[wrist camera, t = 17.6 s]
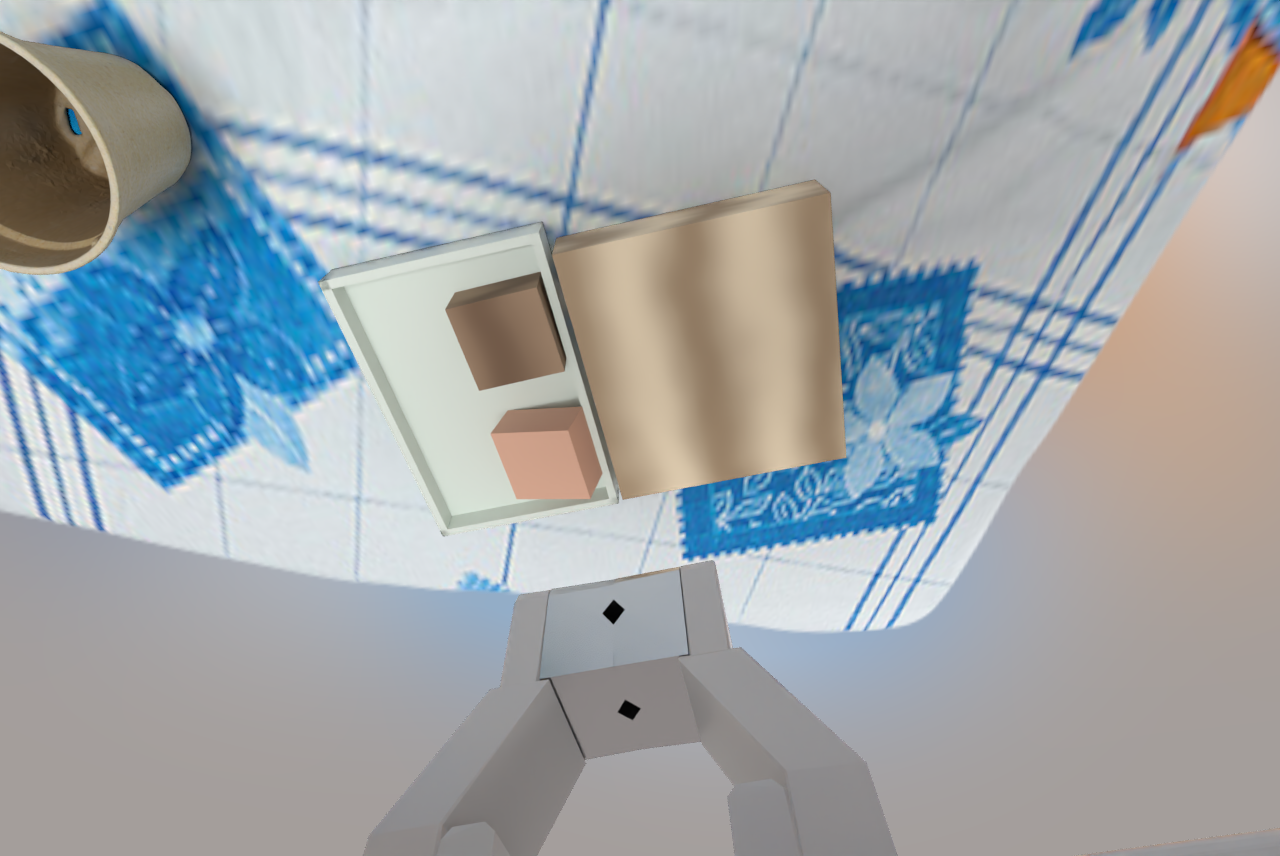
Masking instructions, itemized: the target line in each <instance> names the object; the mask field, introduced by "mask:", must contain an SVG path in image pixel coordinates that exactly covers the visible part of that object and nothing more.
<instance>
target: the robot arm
mask: <svg viewBox="0 0 1280 856" xmlns="http://www.w3.org/2000/svg"><path fill="white" fill-rule="evenodd" d="M694 742H702V745H703V746H704V748H705V749H706V750H707V751H708V753H709V754H710V755H711V757H712V758H713V759H714V761H715V762H716V763H717V764H718V766H719V767H720V768H721V770H722V771H723V772H724V774H725V775H726V776H727V777H728V779H729V780H730V781H731V783H732V784H733V785H734V788H733V789H732V791H731V792H730V794H729V795H728V806H729V813H730V822H731V830H732V838H733V846H734V853H735V856H898V855H897V852H896V849H895V846H894V843H893V840H892V837H891V834H890V831H889V828H888V825H887V822H886V820H885V816H884V814H883V810H882V807H881V804H880V801H879V799H878V795H877V792H876V789H875V786H874V783H873V781H872V778H871V775H870V772H869V769H868V766H867V763H866V762H865V761H864V760H863V759H862V758H861V757H860V756H859V755H858V754H857V753H856V752H854V750H852V749H851V748H850V747H849V746H848V745H847V744H846V743H845V742H844V741H842V739H840V738H839V737H838V736H837V735H836V734H835V733H834V732H833V731H832V730H831V729H829V728H828V727H827V726H826V725H825V724H824V723H823V722H822V721H821V720H819V718H817V716H815V715H814V714H813V713H812V712H811V711H810V710H809V709H808V708H807V707H805V706H804V705H803V704H802V703H801V702H800V701H799V700H798V699H797V698H796V697H795V696H794V695H793V694H791V693H790V692H789V691H788V690H787V689H786V688H785V687H784V686H783V685H782V684H781V683H779V682H778V681H777V680H776V679H775V678H774V677H773V676H772V675H771V674H770V673H769V672H767V671H766V670H765V669H764V668H763V667H762V666H761V665H760V664H759V663H758V662H757V661H755V660H754V659H753V658H752V657H751V656H750V655H749V654H748V653H747V652H746V651H745V650H743V649H742V648H741V647H739V648H733V647H732V642H731V637H730V632H729V628H728V623H727V618H726V613H725V608H724V603H723V599H722V594H721V589H720V584H719V579H718V574H717V570H716V565H715V562H714V561H713V560H711V561H706V562H701V563H696V564H690V565H685V566H681V568H680V567H676V568H671V569H665V570H660V571H655V572H649V573H644V574H639V575H634V576H628V577H623V578H618V579H614V580H608V581H601V582H595V583H588V584H582V585H575V586H569V587H562V588H556V589H552V590H548V591H541V592H535V593H528V594H521V595H519V596H518V598H517V600H516V602H515V603H514V608H513V614H512V621H511V626H510V631H509V637H508V643H507V648H506V654H505V660H504V666H503V671H502V677H501V683H500V687H499V688H494V689H490V690H489V691H488V692H487V693H486V695H485V696H484V697H483V698H482V699H481V701H480V702H479V703H478V704H477V705H476V707H475V708H474V709H473V710H472V711H471V713H470V714H469V715H468V716H467V718H466V719H465V720H464V721H463V723H462V724H461V725H460V726H459V727H458V729H457V730H456V731H455V732H454V733H453V734H452V736H451V737H450V738H449V739H448V741H447V742H446V743H445V744H444V746H443V747H442V748H441V749H440V750H439V751H438V753H437V754H436V755H435V756H434V757H433V759H432V760H431V761H430V762H429V764H428V765H427V766H426V767H425V768H424V770H423V771H422V772H421V773H420V774H419V776H418V777H417V778H416V779H415V780H414V782H413V783H412V784H411V785H410V787H409V788H408V789H407V790H406V791H405V793H404V794H403V795H402V796H401V797H400V799H399V800H398V801H397V802H396V803H395V805H394V806H393V807H392V808H391V810H390V811H389V812H388V814H386V816H385V817H384V818H383V819H382V820H381V822H380V823H379V824H378V825H377V826H376V828H375V829H374V830H373V831H372V833H371V834H370V835H369V837H368V841H367V844H366V847H365V850H364V854H363V856H537V855H538V853H539V851H540V849H541V847H542V845H543V843H544V842H545V840H546V838H547V836H548V834H549V832H550V830H551V828H552V827H553V824H554V823H555V821H556V819H557V817H558V815H559V813H560V811H561V810H562V808H563V806H564V804H565V802H566V800H567V798H568V796H569V795H570V793H571V791H572V789H573V787H574V785H575V783H576V781H577V779H578V778H579V776H580V774H581V772H582V770H583V768H584V766H585V764H586V763H585V760H586V759H592V758H597V757H603V756H608V755H614V754H619V753H624V752H630V751H635V750H640V749H647V748H654V747H663V746H671V745H679V744H686V743H694ZM1076 856H1280V828H1275V829H1268V830H1260V831H1253V832H1246V833H1238V834H1231V835H1224V836H1216V837H1209V838H1201V839H1194V840H1186V841H1179V842H1172V843H1164V844H1157V845H1150V846H1143V847H1135V848H1128V849H1120V850H1113V851H1106V852H1099V853H1091V854H1084V855H1076Z"/></svg>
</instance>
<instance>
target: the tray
mask: <svg viewBox="0 0 1280 856" xmlns="http://www.w3.org/2000/svg"><path fill="white" fill-rule="evenodd" d="M537 272H541V275H542V278H543V282H544V285H545V288H546V292H547V295H548V298H549V301H550V305H551V308H552V311H553V315H554V318H555V321H556V325H557V328H558V331H559V334H560V338H561V341H562V344H563V348H564V351H565V354H566V358H567V359H566V366H565V371H564V372H560V373H556V374H551V375H547V376H543V377H538V378H534V379H529V380H525V381H521V382H516V383H512V384H508V385H503V386H499V387H494V388H490V389H486V390H481V391H479V390H478V387H477V385H476V382H475V380H474V378H473V375H472V373H471V371H470V368H469V366H468V363H467V361H466V359H465V356H464V354H463V351H462V349H461V347H460V344H459V342H458V340H457V337H456V335H455V332H454V330H453V328H452V325H451V323H450V320H449V318H448V316H447V313H446V311H445V309H446V307H447V305H448V303H449V302H450V300H451V298H452V297H453V295H454V293H455V292H459V291H463V290H467V289H471V288H475V287H479V286H484V285H488V284H492V283H496V282H500V281H504V280H508V279H512V278H516V277H520V276H524V275H529V274H533V273H537ZM318 283H319V285H320V287H321V289H322V291H323V293H324V295H325V297H326V299H327V301H328V303H329V305H330V307H331V309H332V312H333V314H334V316H335V318H336V320H337V322H338V324H339V326H340V328H341V330H342V332H343V334H344V336H345V338H346V340H347V342H348V344H349V346H350V348H351V350H352V352H353V354H354V356H355V358H356V360H357V362H358V364H359V366H360V369H361V371H362V373H363V375H364V377H365V379H366V381H367V383H368V385H369V387H370V389H371V391H372V393H373V395H374V397H375V399H376V401H377V403H378V405H379V407H380V409H381V411H382V413H383V415H384V417H385V419H386V421H387V424H388V426H389V428H390V430H391V432H392V434H393V436H394V438H395V440H396V442H397V444H398V446H399V448H400V450H401V452H402V454H403V456H404V458H405V460H406V462H407V464H408V466H409V468H410V470H411V472H412V474H413V476H414V479H415V481H416V483H417V485H418V487H419V489H420V491H421V493H422V495H423V497H424V499H425V501H426V503H427V505H428V507H429V509H430V511H431V513H432V515H433V517H434V519H435V521H436V523H437V525H438V527H439V529H440V531H441V534H442V536H448V535H453V534H459V533H464V532H469V531H475V530H480V529H485V528H491V527H496V526H501V525H506V524H512V523H517V522H522V521H528V520H533V519H538V518H544V517H549V516H554V515H560V514H565V513H570V512H575V511H581V510H586V509H591V508H597V507H602V506H607V505H613V504H618V503H619V485H618V481H617V478H616V474H615V471H614V468H613V464H612V461H611V457H610V454H609V450H608V447H607V443H606V440H605V436H604V433H603V430H602V426H601V423H600V419H599V416H598V412H597V409H596V405H595V402H594V398H593V395H592V392H591V388H590V385H589V381H588V378H587V374H586V371H585V367H584V364H583V360H582V357H581V354H580V350H579V347H578V343H577V340H576V336H575V333H574V329H573V326H572V322H571V319H570V316H569V312H568V309H567V305H566V302H565V298H564V295H563V291H562V288H561V285H560V281H559V278H558V274H557V271H556V267H555V264H554V260H553V257H552V253H551V250H550V246H549V243H548V240H547V236H546V233H545V229H544V226H543V222H539V223H534V224H530V225H526V226H521V227H517V228H513V229H508V230H504V231H499V232H495V233H491V234H486V235H482V236H477V237H473V238H469V239H464V240H460V241H456V242H451V243H447V244H442V245H438V246H434V247H429V248H425V249H420V250H416V251H412V252H407V253H403V254H399V255H394V256H390V257H385V258H381V259H377V260H372V261H368V262H363V263H359V264H355V265H350V266H346V267H341V268H337V269H333V270H331V271H330V272H329V273H328V274H327V275H325V276H324V277H323V278H322V279H321V280H320V281H319V282H318ZM564 407H582V408H583V411H584V414H585V418H586V421H587V424H588V427H589V431H590V434H591V437H592V440H593V444H594V447H595V450H596V454H597V457H598V460H599V463H600V467H601V470H602V473H603V474H602V476H601V478H600V480H599V482H598V484H597V486H596V488H595V490H594V492H593V495H592V497H591V499H516V496H515V494H514V491H513V489H512V486H511V484H510V481H509V479H508V476H507V474H506V471H505V469H504V466H503V464H502V461H501V459H500V456H499V454H498V451H497V449H496V446H495V444H494V441H493V439H492V436H491V434H490V433H491V432H492V431H493V429H494V428H495V427H496V425H497V424H498V423H499V421H500V420H501V419H502V417H503V416H504V415H505V413H506V412H507V411H508V410H526V409H545V408H564Z"/></svg>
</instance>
